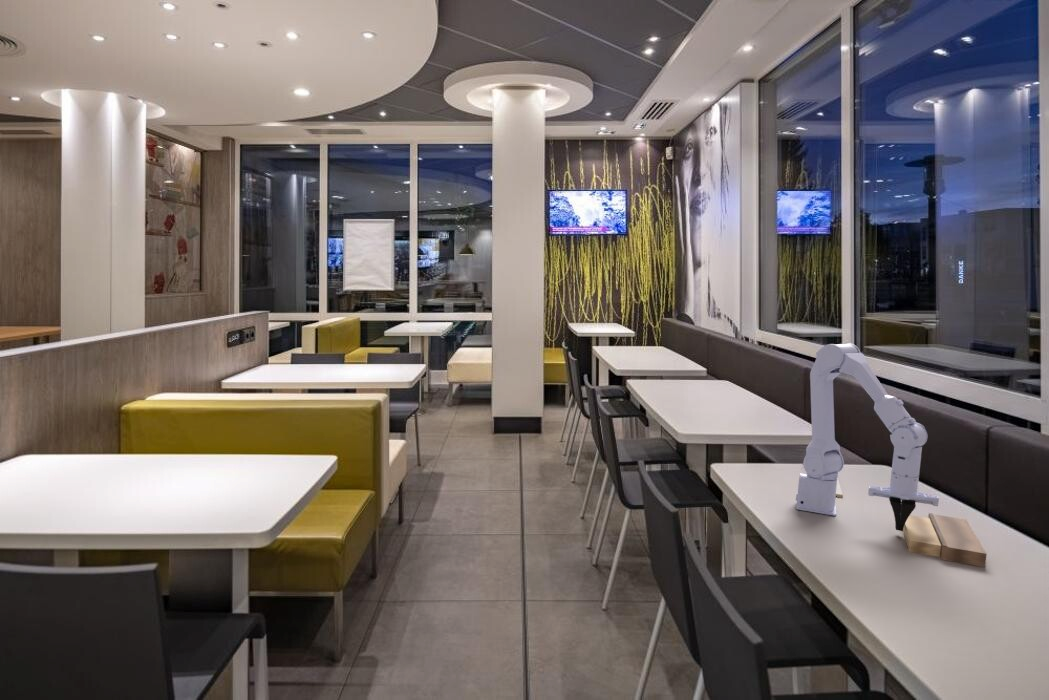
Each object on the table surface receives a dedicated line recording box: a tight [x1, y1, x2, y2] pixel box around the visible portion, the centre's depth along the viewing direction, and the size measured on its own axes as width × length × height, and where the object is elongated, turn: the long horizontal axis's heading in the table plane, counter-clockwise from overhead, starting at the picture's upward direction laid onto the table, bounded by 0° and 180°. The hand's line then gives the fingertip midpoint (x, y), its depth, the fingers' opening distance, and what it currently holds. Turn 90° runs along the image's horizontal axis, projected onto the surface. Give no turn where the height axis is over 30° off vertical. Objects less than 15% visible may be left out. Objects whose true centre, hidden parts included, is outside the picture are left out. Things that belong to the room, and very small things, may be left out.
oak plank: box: [902, 514, 941, 558], centre depth 159 cm, size 6×20×3 cm, turn 156°
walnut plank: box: [927, 512, 987, 568], centre depth 157 cm, size 8×24×3 cm, turn 156°
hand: (898, 529), depth 162 cm, fingers closed
